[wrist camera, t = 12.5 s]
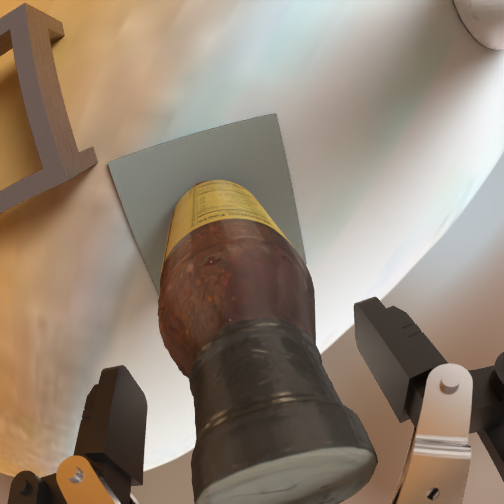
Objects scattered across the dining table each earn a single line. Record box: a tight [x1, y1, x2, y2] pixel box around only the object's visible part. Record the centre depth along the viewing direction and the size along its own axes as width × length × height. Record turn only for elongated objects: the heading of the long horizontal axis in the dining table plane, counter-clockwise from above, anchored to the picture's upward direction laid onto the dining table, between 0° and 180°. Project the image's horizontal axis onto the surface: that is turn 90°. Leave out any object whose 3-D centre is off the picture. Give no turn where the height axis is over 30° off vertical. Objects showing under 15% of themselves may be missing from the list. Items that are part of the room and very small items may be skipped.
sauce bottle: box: [158, 180, 378, 504], centre depth 14 cm, size 7×6×20 cm
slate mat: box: [108, 114, 306, 297], centre depth 23 cm, size 12×12×1 cm
